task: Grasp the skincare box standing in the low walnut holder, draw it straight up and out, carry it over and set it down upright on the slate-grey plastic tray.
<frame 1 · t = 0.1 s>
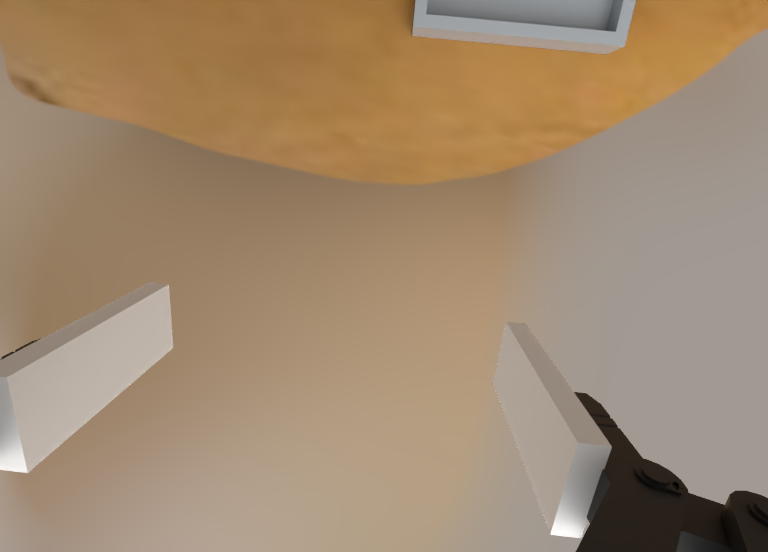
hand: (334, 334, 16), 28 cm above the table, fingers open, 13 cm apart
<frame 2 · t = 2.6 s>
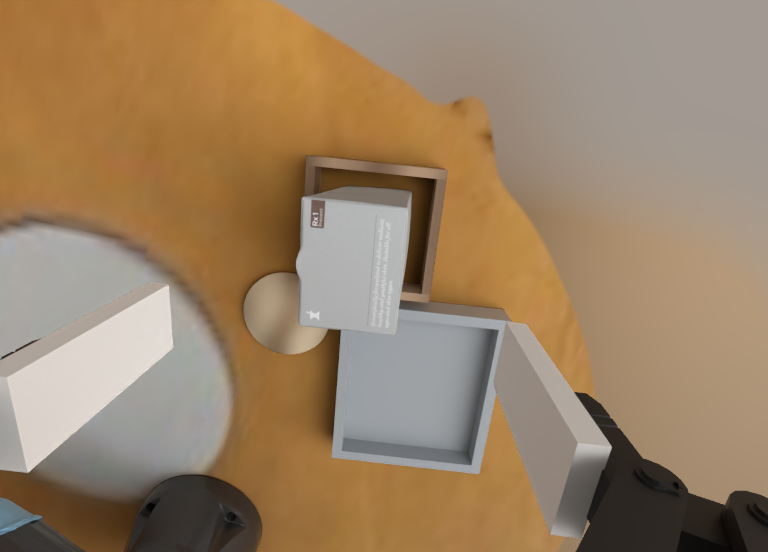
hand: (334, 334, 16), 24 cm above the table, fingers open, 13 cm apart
tray: (414, 378, 43), on the table
curved potato chip: (287, 313, 42), on the table
holder: (372, 226, 39), on the table
skincare box: (373, 226, 39), resting in holder
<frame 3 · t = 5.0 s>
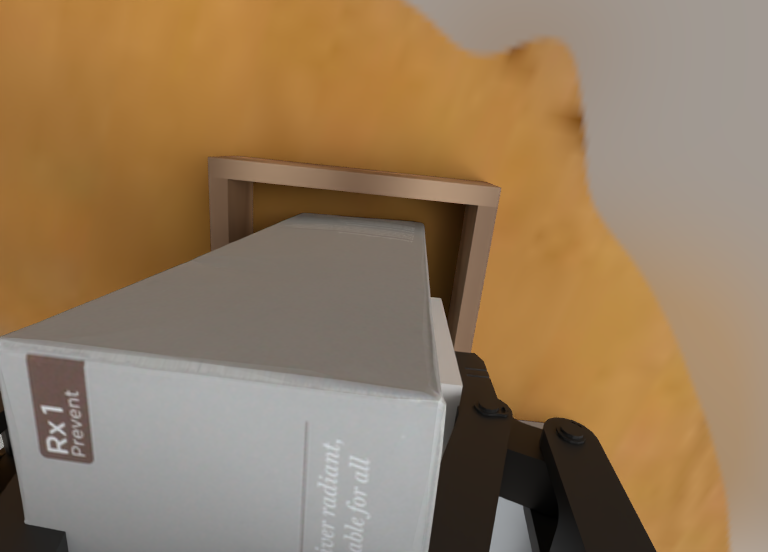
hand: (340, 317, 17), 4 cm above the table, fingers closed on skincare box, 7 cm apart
tray: (425, 529, 26), on the table
holder: (351, 287, 21), on the table
skincare box: (352, 285, 21), resting in holder, touching gripper
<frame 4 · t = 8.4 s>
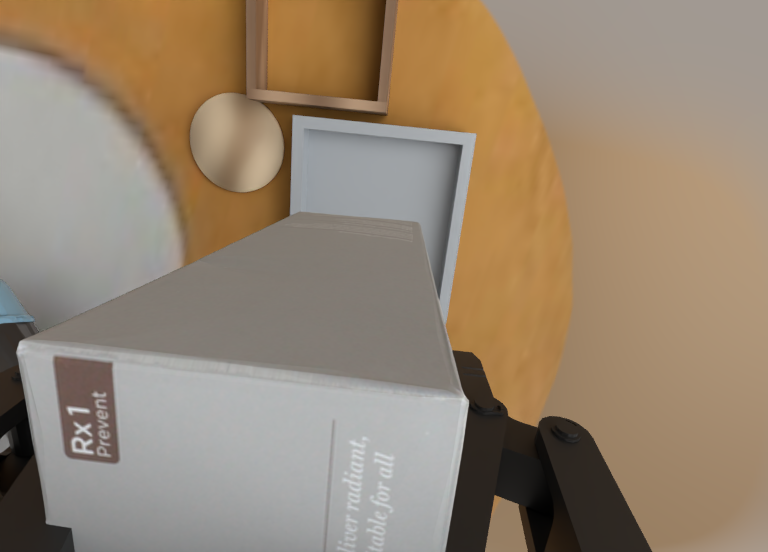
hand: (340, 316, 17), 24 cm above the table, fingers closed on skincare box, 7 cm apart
tray: (376, 221, 40), on the table
curved potato chip: (238, 144, 39), on the table
holder: (326, 35, 35), on the table
skincare box: (348, 283, 21), point 20 cm above the table, touching gripper
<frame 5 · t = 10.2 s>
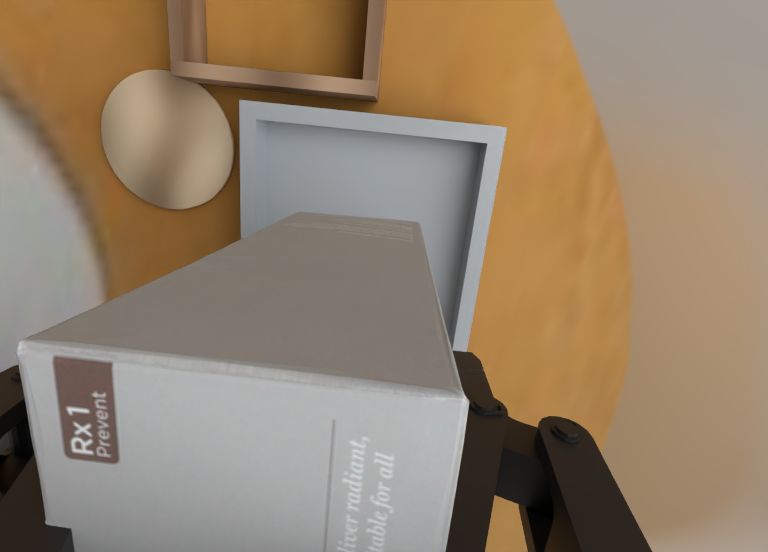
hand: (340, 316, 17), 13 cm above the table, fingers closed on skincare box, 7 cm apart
tray: (364, 248, 29), on the table
curved potato chip: (170, 142, 28), on the table
skincare box: (348, 283, 21), point 8 cm above the table, touching gripper
when the fingers open (6 cm above the table, at t = 11.8 s): skincare box drops 1 cm, resting on tray.
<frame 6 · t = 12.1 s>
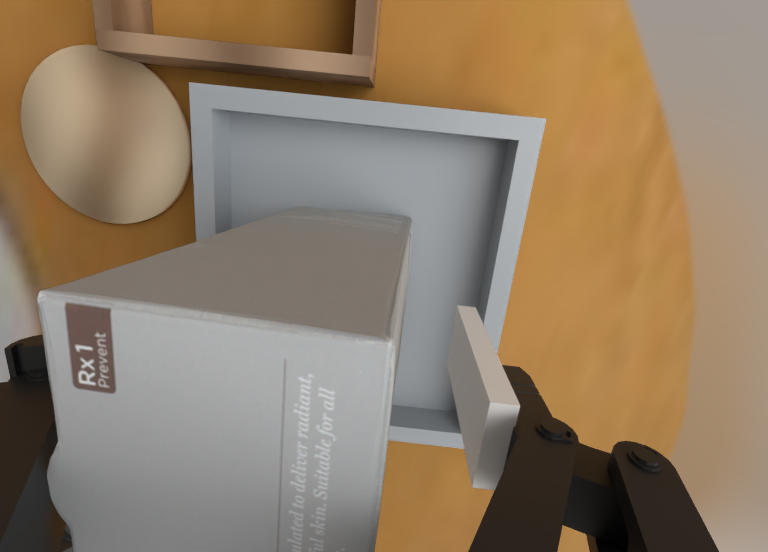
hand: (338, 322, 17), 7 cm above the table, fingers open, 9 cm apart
tray: (357, 272, 23), on the table
curved potato chip: (111, 140, 22), on the table
skincare box: (345, 275, 23), point 1 cm above the table, touching tray
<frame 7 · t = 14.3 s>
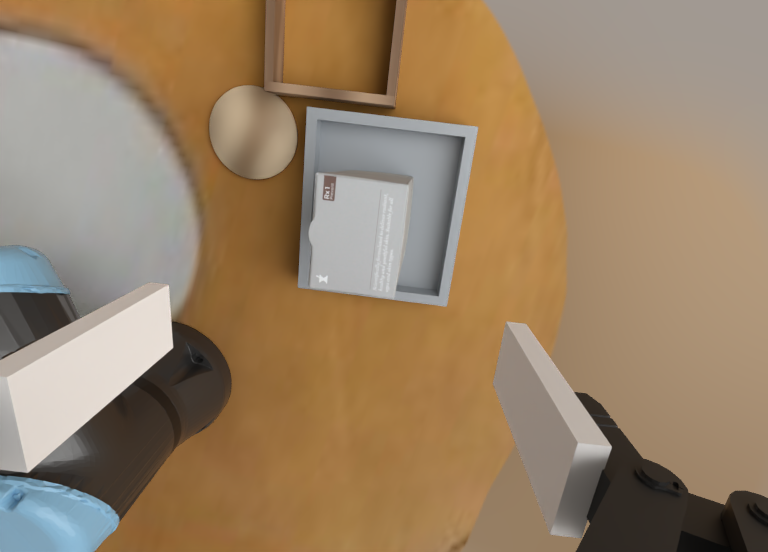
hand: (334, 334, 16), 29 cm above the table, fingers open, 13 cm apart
tray: (383, 208, 43), on the table
curved potato chip: (254, 134, 41), on the table
holder: (339, 32, 38), on the table
skincare box: (376, 208, 42), point 1 cm above the table, touching tray
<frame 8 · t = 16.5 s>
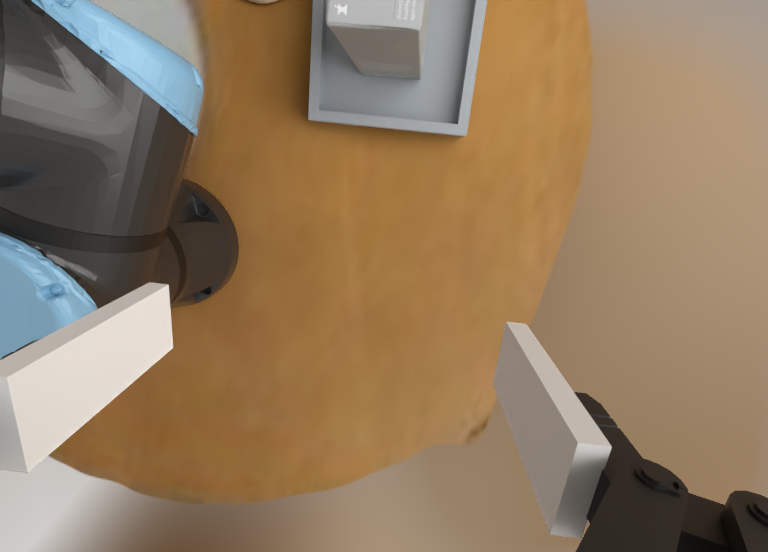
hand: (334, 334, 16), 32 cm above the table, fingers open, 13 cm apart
tray: (397, 34, 40), on the table
skincare box: (390, 31, 39), point 1 cm above the table, touching tray
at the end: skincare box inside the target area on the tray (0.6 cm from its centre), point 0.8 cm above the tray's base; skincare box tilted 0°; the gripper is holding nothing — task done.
